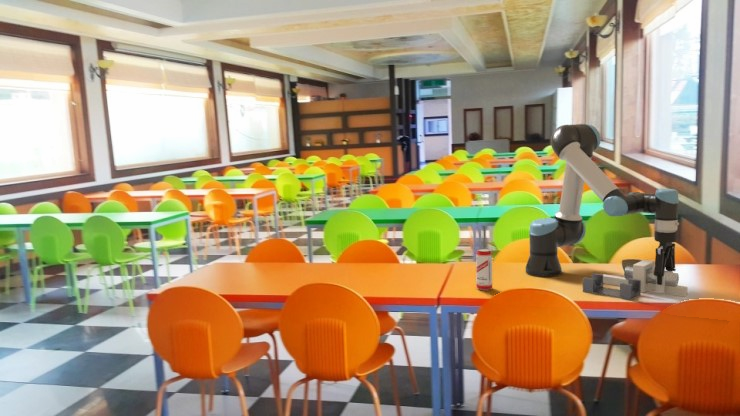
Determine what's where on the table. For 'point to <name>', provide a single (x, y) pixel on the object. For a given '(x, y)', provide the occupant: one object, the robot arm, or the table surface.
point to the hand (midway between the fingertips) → (664, 290)
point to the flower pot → (629, 262)
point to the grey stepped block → (644, 279)
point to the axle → (654, 276)
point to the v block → (625, 291)
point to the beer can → (484, 269)
